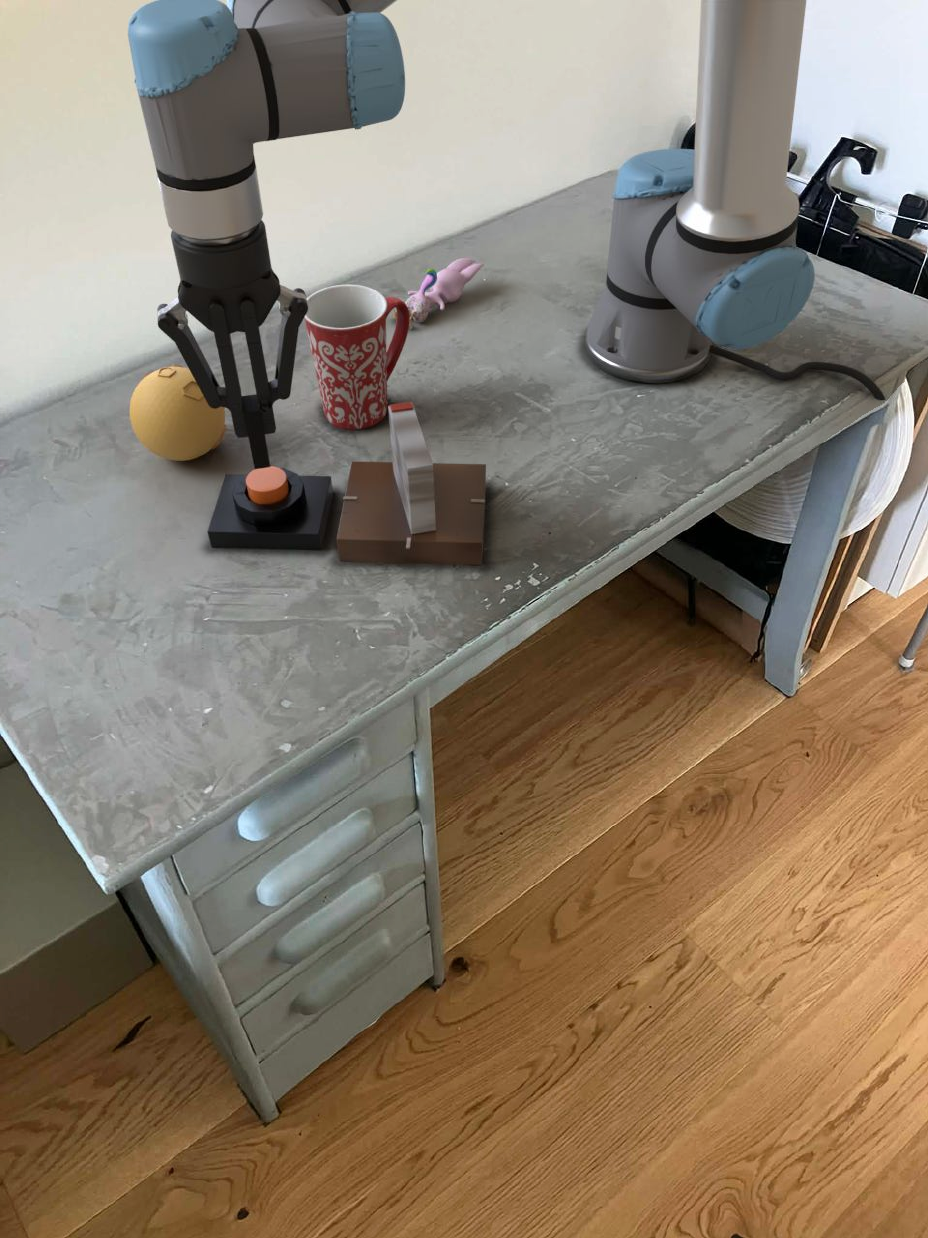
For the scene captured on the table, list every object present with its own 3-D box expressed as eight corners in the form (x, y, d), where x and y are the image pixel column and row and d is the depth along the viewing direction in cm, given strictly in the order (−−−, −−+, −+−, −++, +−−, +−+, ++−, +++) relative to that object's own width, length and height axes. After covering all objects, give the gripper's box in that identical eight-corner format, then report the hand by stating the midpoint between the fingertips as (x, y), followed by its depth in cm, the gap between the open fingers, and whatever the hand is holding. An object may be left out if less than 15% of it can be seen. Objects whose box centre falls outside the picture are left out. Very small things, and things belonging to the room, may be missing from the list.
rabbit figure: (422, 343, 129) (498, 280, 135) (414, 304, 124) (493, 240, 130) (386, 325, 132) (462, 265, 138) (378, 287, 127) (457, 226, 133)
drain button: (291, 479, 103) (289, 466, 102) (285, 505, 100) (282, 491, 99) (252, 479, 103) (249, 465, 102) (245, 504, 100) (242, 491, 99)
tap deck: (487, 479, 108) (487, 456, 106) (482, 573, 99) (482, 549, 96) (354, 477, 109) (351, 453, 107) (336, 569, 99) (333, 545, 97)
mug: (346, 446, 113) (333, 337, 103) (300, 409, 117) (284, 302, 108) (435, 402, 118) (431, 296, 108) (388, 369, 123) (381, 264, 113)
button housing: (333, 492, 107) (329, 462, 104) (321, 550, 101) (316, 520, 98) (229, 490, 108) (222, 459, 105) (211, 548, 102) (203, 517, 99)
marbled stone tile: (436, 530, 98) (433, 462, 92) (411, 534, 98) (407, 466, 92) (415, 467, 105) (412, 400, 99) (393, 470, 105) (387, 403, 99)
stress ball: (215, 484, 108) (196, 405, 101) (127, 474, 110) (102, 396, 102) (244, 428, 115) (229, 350, 108) (162, 419, 116) (141, 342, 109)
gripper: (293, 195, 85) (323, 427, 102) (133, 211, 83) (191, 445, 100) (303, 236, 80) (333, 474, 97) (133, 254, 78) (194, 493, 95)
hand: (261, 459), depth 99 cm, fingers closed
